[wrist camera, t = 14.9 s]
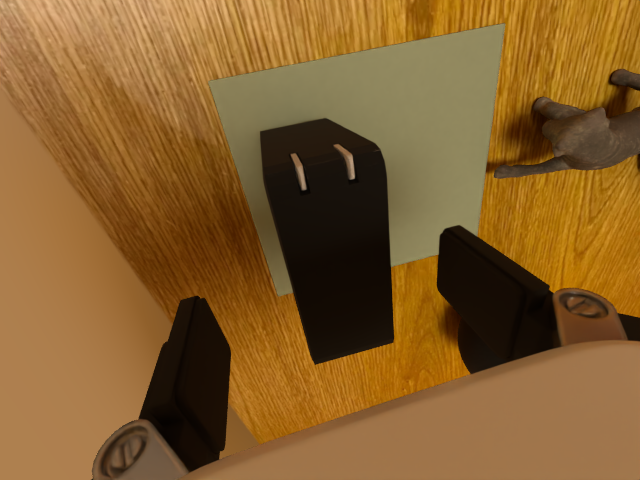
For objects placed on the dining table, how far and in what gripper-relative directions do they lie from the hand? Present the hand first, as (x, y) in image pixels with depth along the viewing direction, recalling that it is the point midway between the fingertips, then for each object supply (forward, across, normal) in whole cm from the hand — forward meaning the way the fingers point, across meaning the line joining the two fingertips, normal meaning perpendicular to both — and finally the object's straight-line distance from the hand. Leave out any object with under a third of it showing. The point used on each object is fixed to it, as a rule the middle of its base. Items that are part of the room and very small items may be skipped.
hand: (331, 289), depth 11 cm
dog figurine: (+10, -21, -1) cm, 23 cm away
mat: (+11, -6, 0) cm, 12 cm away
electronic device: (+10, -1, 0) cm, 11 cm away
